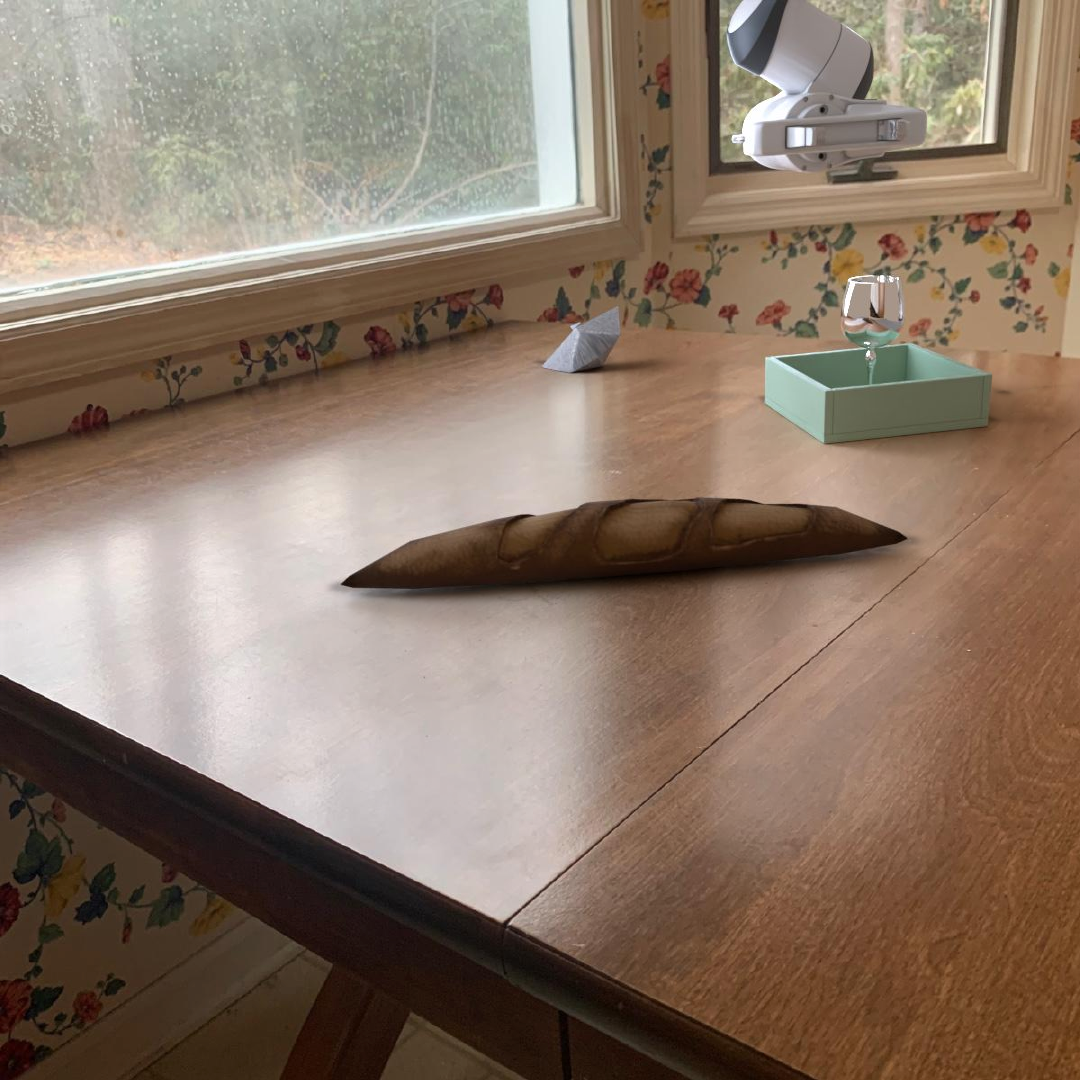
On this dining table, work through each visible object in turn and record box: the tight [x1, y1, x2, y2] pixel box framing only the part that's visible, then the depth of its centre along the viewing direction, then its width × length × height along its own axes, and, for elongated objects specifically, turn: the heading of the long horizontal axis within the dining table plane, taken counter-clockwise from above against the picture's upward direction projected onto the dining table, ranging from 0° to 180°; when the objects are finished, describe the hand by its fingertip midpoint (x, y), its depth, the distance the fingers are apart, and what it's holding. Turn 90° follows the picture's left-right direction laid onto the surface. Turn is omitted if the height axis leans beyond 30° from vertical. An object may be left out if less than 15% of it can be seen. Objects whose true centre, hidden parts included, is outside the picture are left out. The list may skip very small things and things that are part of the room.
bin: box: [764, 342, 993, 445], centre depth 104 cm, size 16×16×5 cm
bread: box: [340, 496, 909, 590], centre depth 72 cm, size 38×5×5 cm, turn 93°
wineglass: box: [840, 275, 906, 385], centre depth 103 cm, size 6×6×12 cm
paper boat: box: [541, 306, 621, 374], centre depth 133 cm, size 12×6×9 cm
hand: (861, 133), depth 116 cm, fingers open, 8 cm apart
